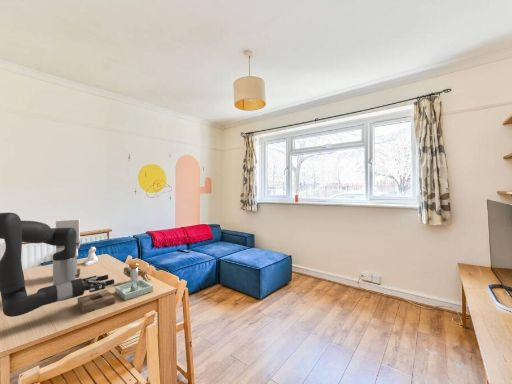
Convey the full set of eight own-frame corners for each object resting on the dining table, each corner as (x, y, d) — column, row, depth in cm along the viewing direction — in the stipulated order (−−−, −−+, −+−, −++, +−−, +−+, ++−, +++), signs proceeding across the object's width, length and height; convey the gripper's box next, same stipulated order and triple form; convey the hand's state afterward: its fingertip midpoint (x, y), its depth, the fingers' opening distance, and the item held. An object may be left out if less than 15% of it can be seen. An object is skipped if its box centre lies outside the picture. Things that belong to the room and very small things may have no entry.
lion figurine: (121, 284, 133) (121, 268, 133) (125, 280, 138) (125, 265, 138) (149, 282, 136) (149, 266, 136) (151, 278, 141) (151, 264, 141)
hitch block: (77, 304, 110) (77, 297, 110) (106, 295, 119) (106, 289, 119) (84, 313, 102) (84, 306, 102) (115, 303, 111) (115, 297, 111)
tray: (115, 292, 123) (115, 286, 123) (142, 284, 133) (142, 279, 133) (125, 300, 114) (125, 294, 114) (153, 291, 124) (153, 285, 124)
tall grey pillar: (79, 277, 143) (78, 219, 142) (56, 281, 137) (55, 221, 136) (80, 271, 152) (79, 217, 151) (58, 275, 146) (58, 218, 145)
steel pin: (127, 291, 123) (127, 264, 123) (136, 288, 127) (137, 262, 126) (131, 293, 120) (131, 266, 120) (140, 290, 124) (140, 263, 123)
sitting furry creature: (81, 263, 169) (81, 246, 168) (95, 260, 175) (95, 244, 175) (85, 266, 163) (85, 248, 162) (100, 263, 169) (100, 246, 169)
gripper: (73, 285, 98) (116, 275, 110) (65, 277, 108) (106, 268, 120) (73, 303, 98) (116, 291, 111) (65, 293, 108) (106, 282, 120)
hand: (110, 279), depth 115 cm, fingers open, 8 cm apart
